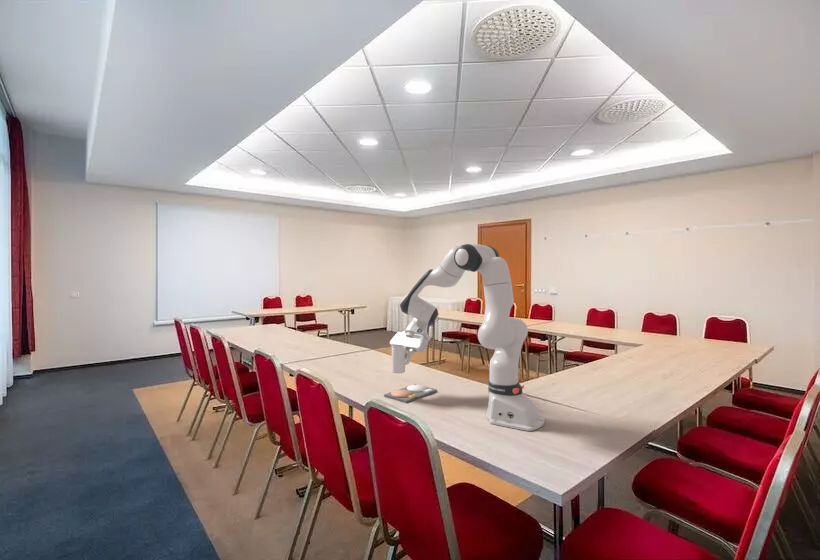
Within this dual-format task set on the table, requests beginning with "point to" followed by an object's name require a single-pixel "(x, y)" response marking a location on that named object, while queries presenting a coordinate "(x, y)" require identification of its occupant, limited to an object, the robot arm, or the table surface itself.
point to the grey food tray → (410, 393)
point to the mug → (399, 358)
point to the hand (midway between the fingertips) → (400, 356)
